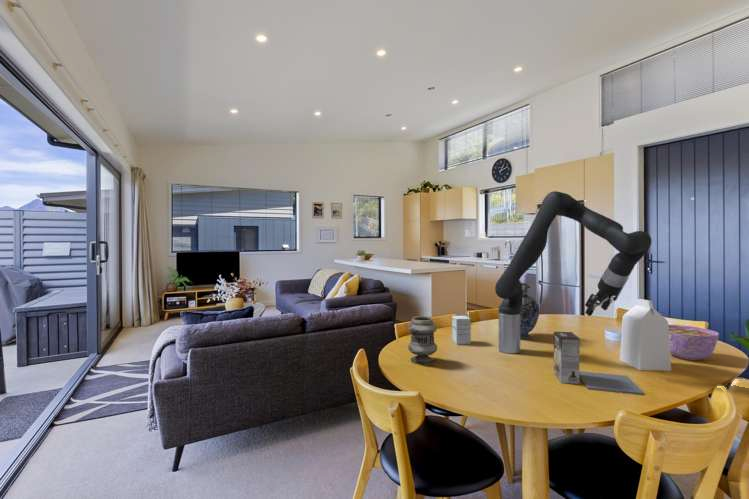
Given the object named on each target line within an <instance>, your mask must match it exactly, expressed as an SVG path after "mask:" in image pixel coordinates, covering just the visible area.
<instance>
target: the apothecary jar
mask: <svg viewBox="0 0 749 499" xmlns="http://www.w3.org/2000/svg"><path fill="white" fill-rule="evenodd" d="M433 321H434V320H433V317H431V316H427V315H426V316H425V315H420V316H419V315H418V316H417V315H416V316H413V317H412V318H411V322H409V324H408V328H407V329H408V331H410V342H409V343H408V346H407V349H408V351H409V352H410V353H411V354H413V355H415V356H412V357H411V358H410V361H411V363H413V364H416V365H417V364H418V365H431V364H433V363H435V358H433V357H431V355H433V354H435V353H436V352H437V350H438V345H437V344H436V343H435V332H436V331H437V325H436V323H434V322H433Z"/></svg>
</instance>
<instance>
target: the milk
mask: <svg viewBox="0 0 749 499" xmlns="http://www.w3.org/2000/svg"><path fill="white" fill-rule="evenodd" d="M621 321H622V322H621V335H620V337H621V338H620V348H619V349H620V350H619V352H620V353H619V361H620V360H621V362H622V361H623V362H622V363H624V362H625V364H626V363H627V365H628V364H629V365H628V366H630V365H631V366H630V367H632V366H633V368H634V367H635V368H634V369H636V368H637V369H636V370H638V369H639V371H640V370H660V371H661V372H663V371H665V372H667V371H668V372H670V371H672V362H671V353H670V343H669V326H668V325H669V321H668V320H667V318H665V316H663V315H662V314H661V313H660V312H659V311H657V309H655V308H654V305H653V301H652V300H648V299H643V298H637V299H636V304H635V305H634V306H633V307H632V308H630V309H629V310H628V311H626V312H625V313H624V314H623V316H622V320H621Z"/></svg>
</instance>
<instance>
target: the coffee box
mask: <svg viewBox="0 0 749 499" xmlns="http://www.w3.org/2000/svg"><path fill="white" fill-rule="evenodd" d="M580 342H581V341H580V338H579V337H578V336H577V335H576V334H575V333H574V332H572V331H553V374H554V376H555V377H556V378H557V380H558V381H559V382H560V383H561V384H574V385H576V384H577V385H580V376H579V371H580V355H581V354H580V346H581V345H580Z"/></svg>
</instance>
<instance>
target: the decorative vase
mask: <svg viewBox="0 0 749 499" xmlns="http://www.w3.org/2000/svg"><path fill="white" fill-rule="evenodd" d="M521 284H522V287H523V299H522V307H521V310H520V341H521V340H524V341H525V340H529V339H530V340H531V338H532V336H531V334H529V333H530V332H532V331H533V330H534V328H535V327H536V326H537V322H538V320H539V317H540V316H539V314H540V306H539V303H538V300H536V298H534V297H533V296H529V294H528V290H529V289H531V286H530V285H529V283H525V282H521ZM502 302H503V299H502V300H501V303H500V305H501V304H502Z"/></svg>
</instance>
